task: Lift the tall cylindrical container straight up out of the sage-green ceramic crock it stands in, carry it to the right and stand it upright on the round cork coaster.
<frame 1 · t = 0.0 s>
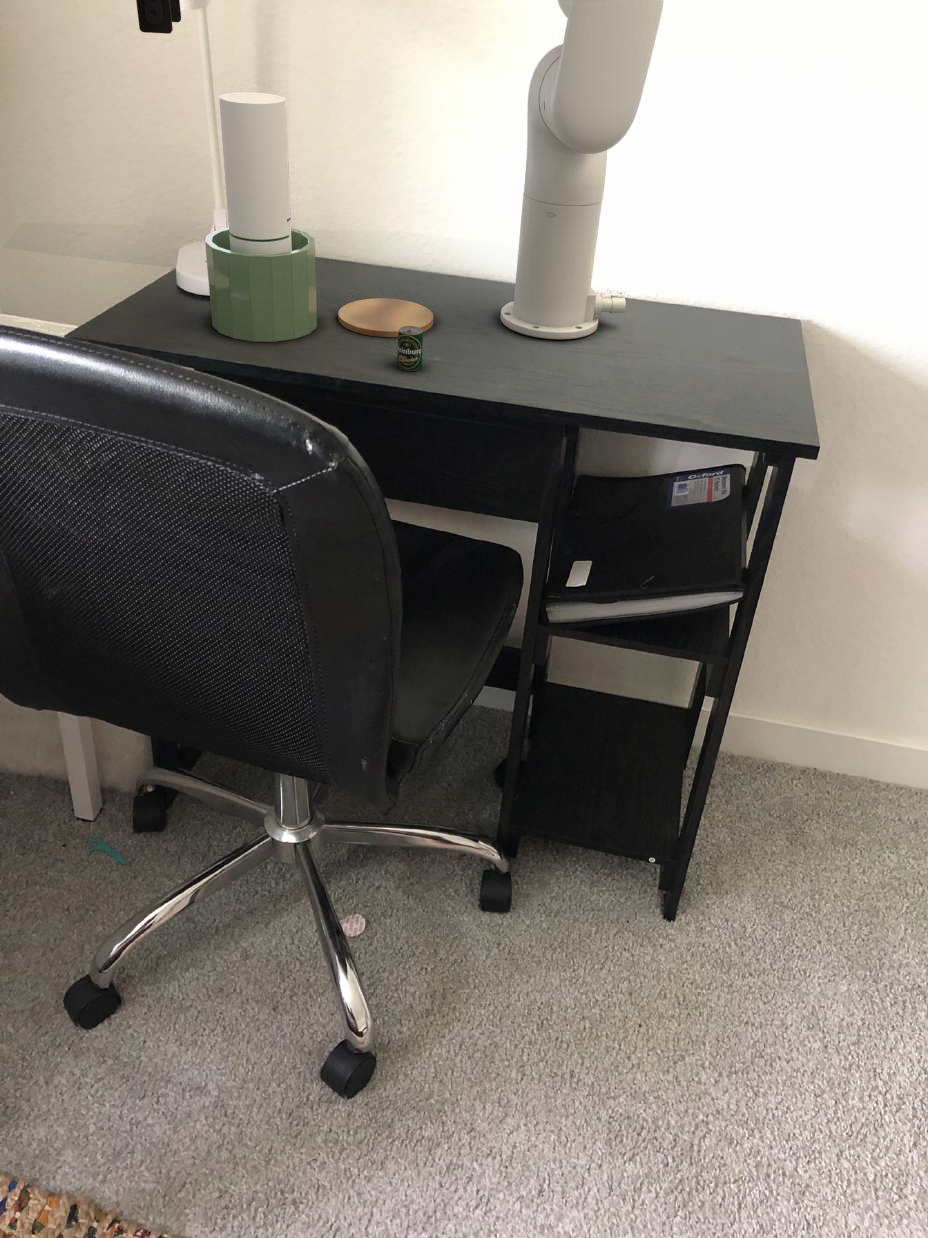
hand: (161, 26, 105), 31 cm above the table, tool pointing down, fingers open, 9 cm apart
beer can: (409, 368, 116), on the table
cylindrical container: (265, 324, 124), resting in crock
crock: (265, 322, 124), on the table
coaster: (386, 319, 128), on the table
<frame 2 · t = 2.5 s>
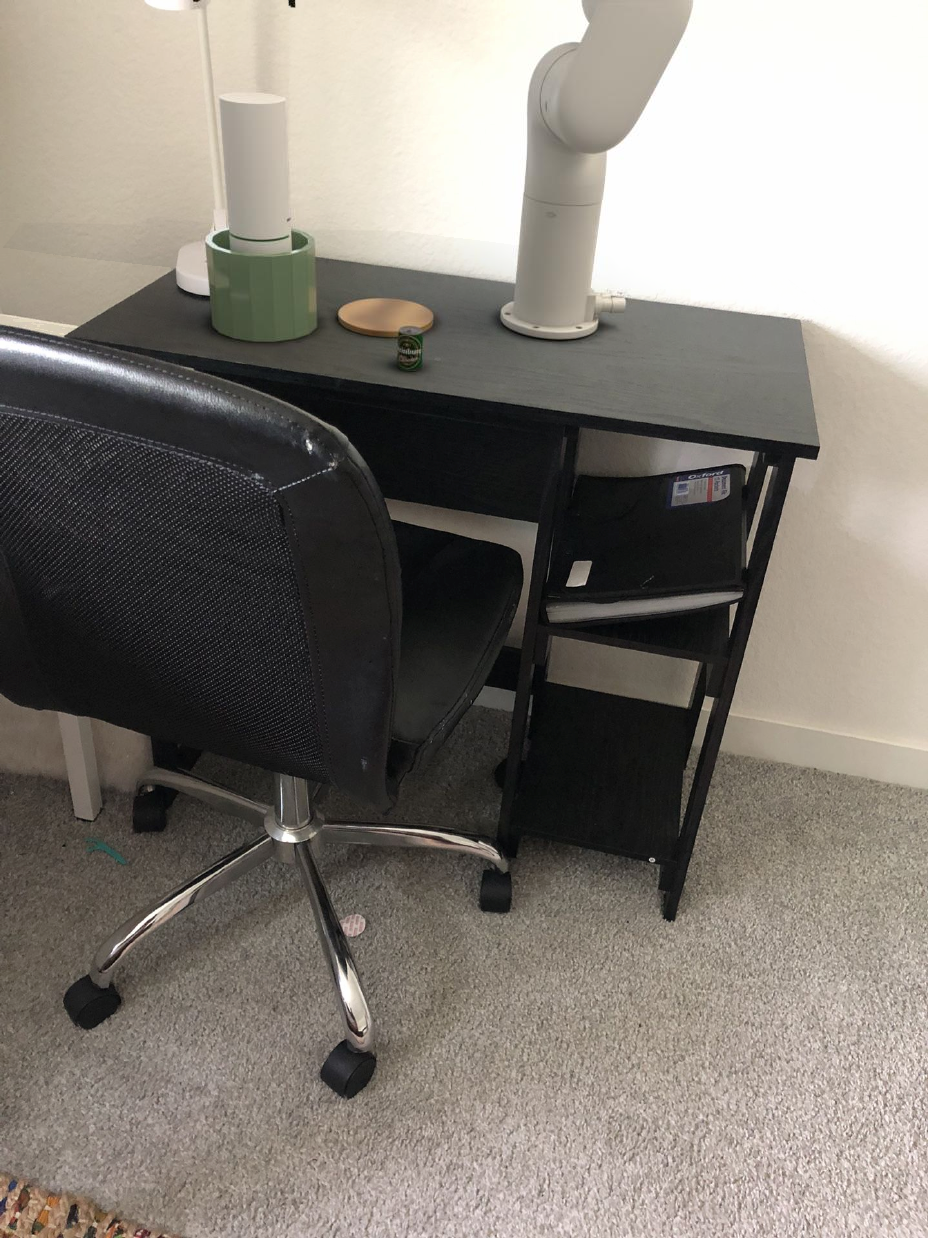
hand: (245, 3, 104), 34 cm above the table, tool pointing down, fingers open, 9 cm apart
nothing on the table moved.
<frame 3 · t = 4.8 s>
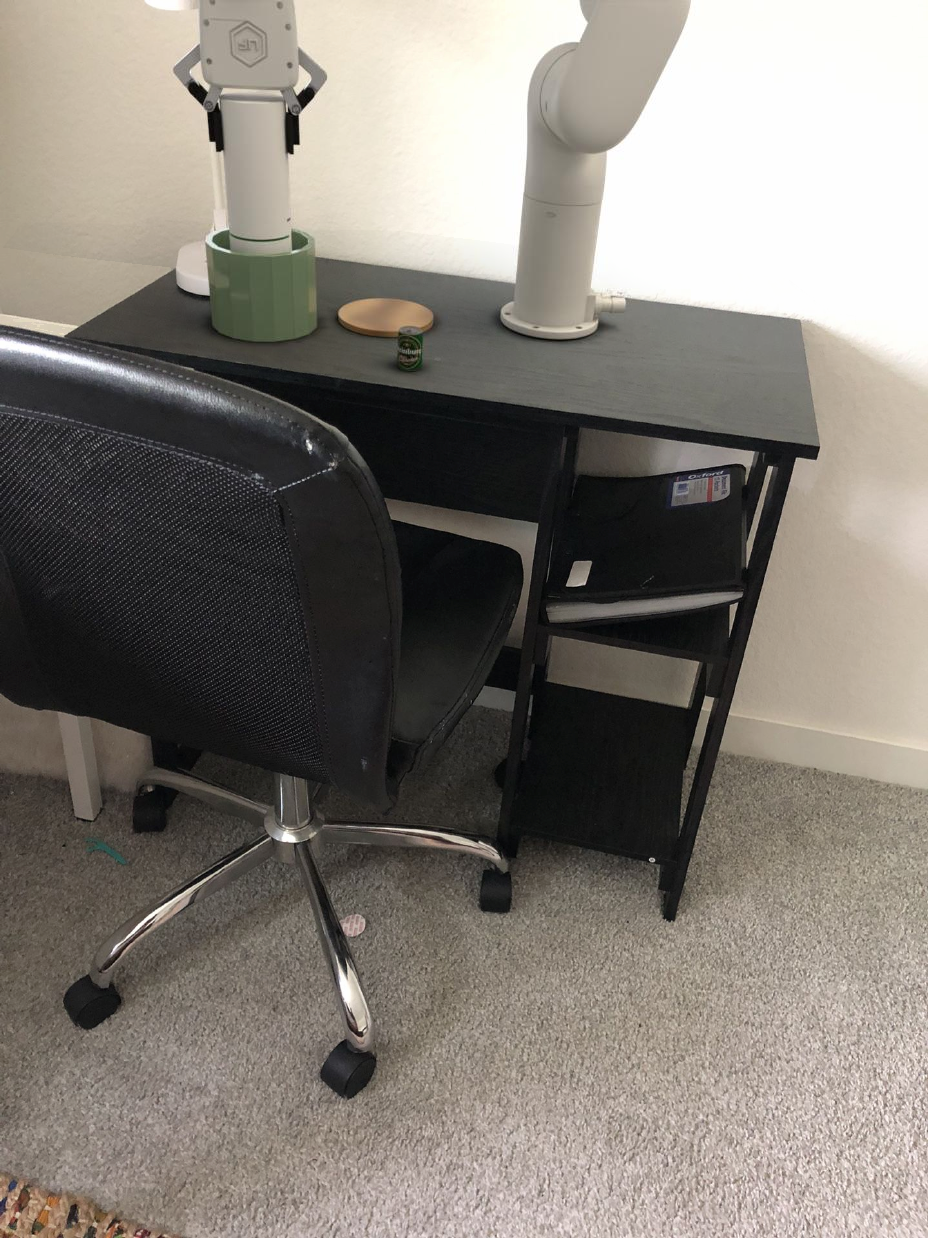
hand: (255, 149, 113), 20 cm above the table, tool pointing down, fingers closed on cylindrical container, 7 cm apart
cylindrical container: (265, 324, 124), resting in crock, touching gripper
everything else where it was.
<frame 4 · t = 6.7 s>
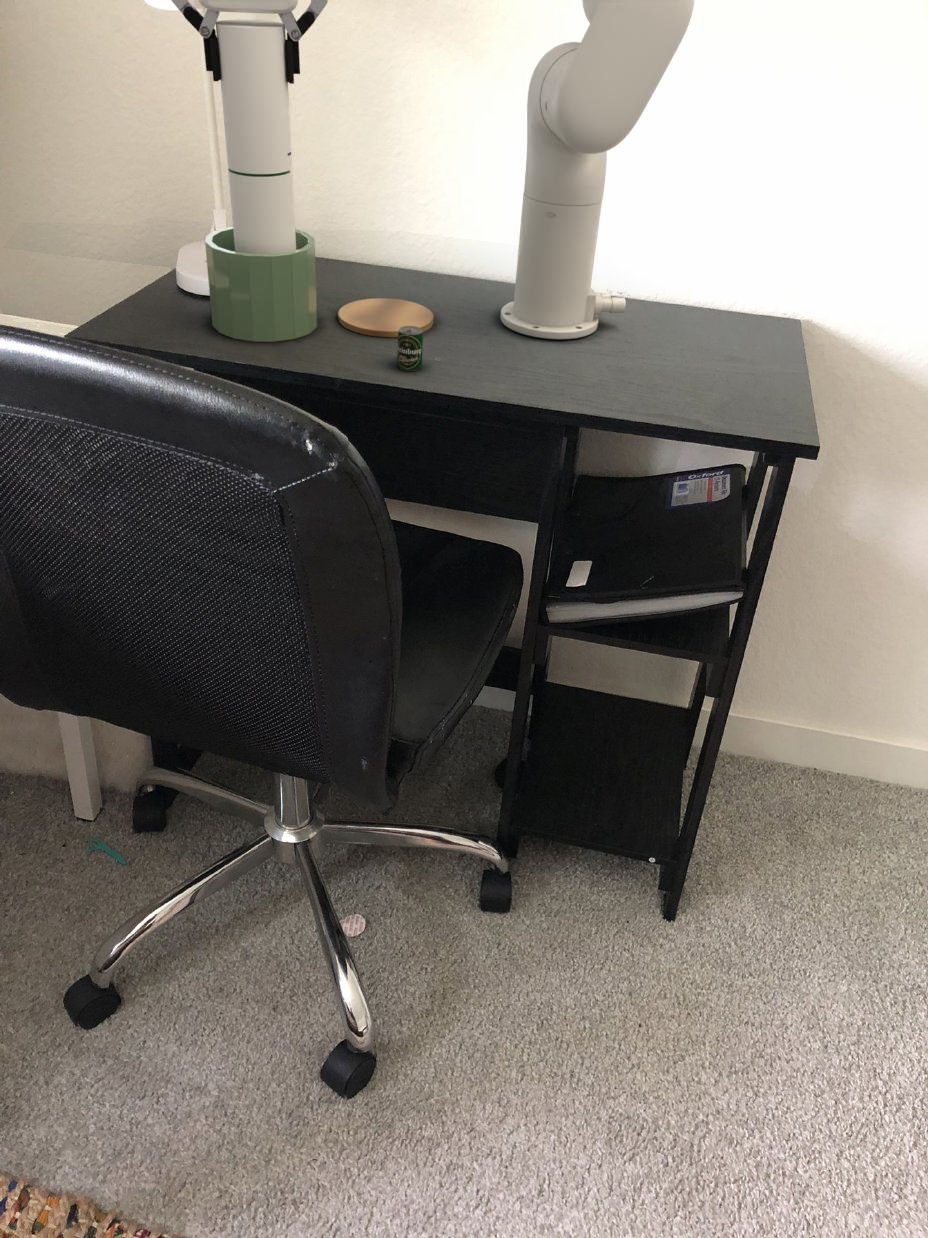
hand: (254, 78, 109), 27 cm above the table, tool pointing down, fingers closed on cylindrical container, 7 cm apart
cylindrical container: (267, 266, 120), point 7 cm above the table, touching gripper
everything else where it was.
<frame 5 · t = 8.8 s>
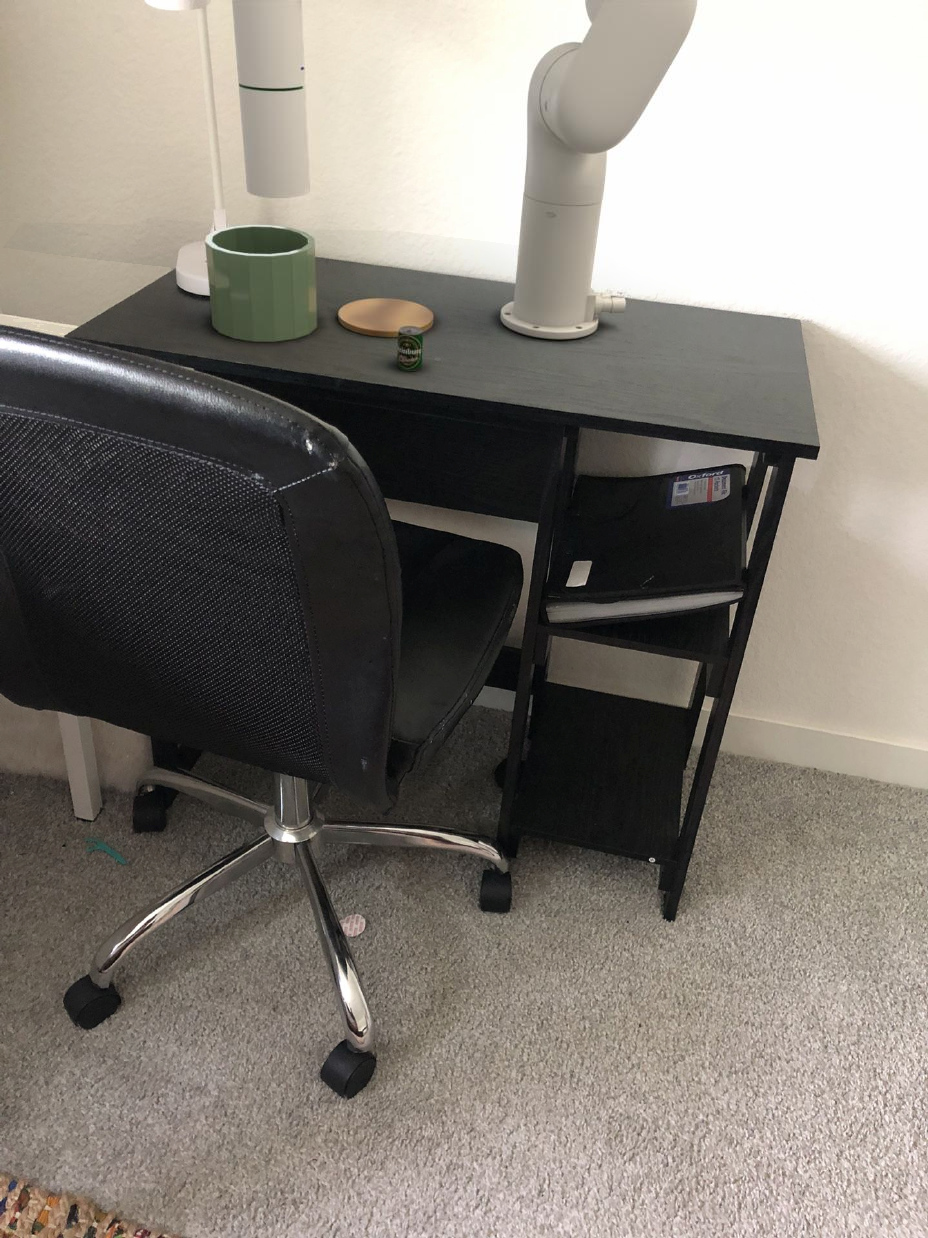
cylindrical container: (278, 191, 116), point 15 cm above the table, touching gripper
everything else where it was.
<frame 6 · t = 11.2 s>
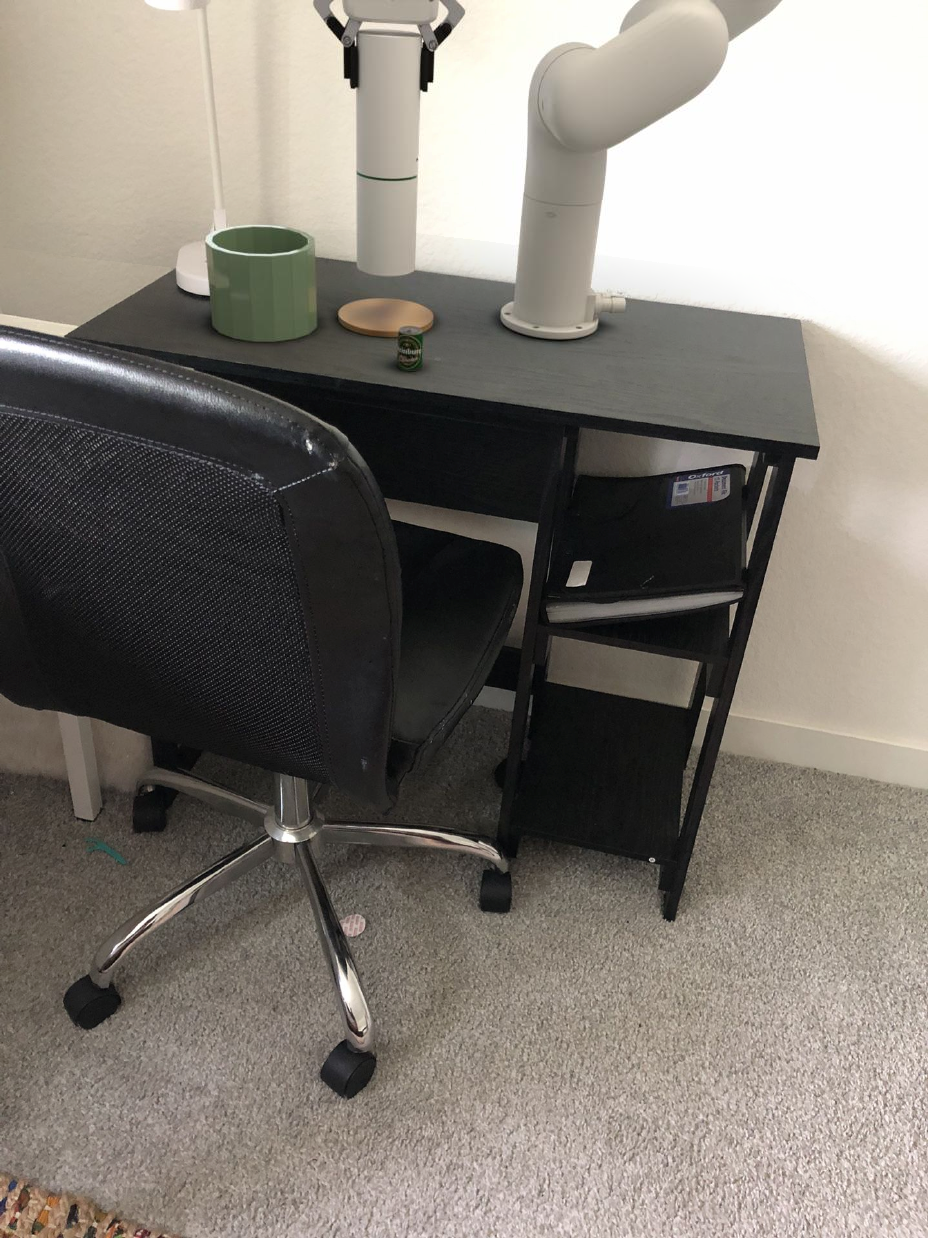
hand: (388, 86, 112), 26 cm above the table, tool pointing down, fingers closed on cylindrical container, 7 cm apart
cylindrical container: (385, 268, 124), point 6 cm above the table, touching gripper
everything else where it was.
when the fingers open (21 cm above the table, at t = 13.0 s): cylindrical container stays where it is, resting on coaster.
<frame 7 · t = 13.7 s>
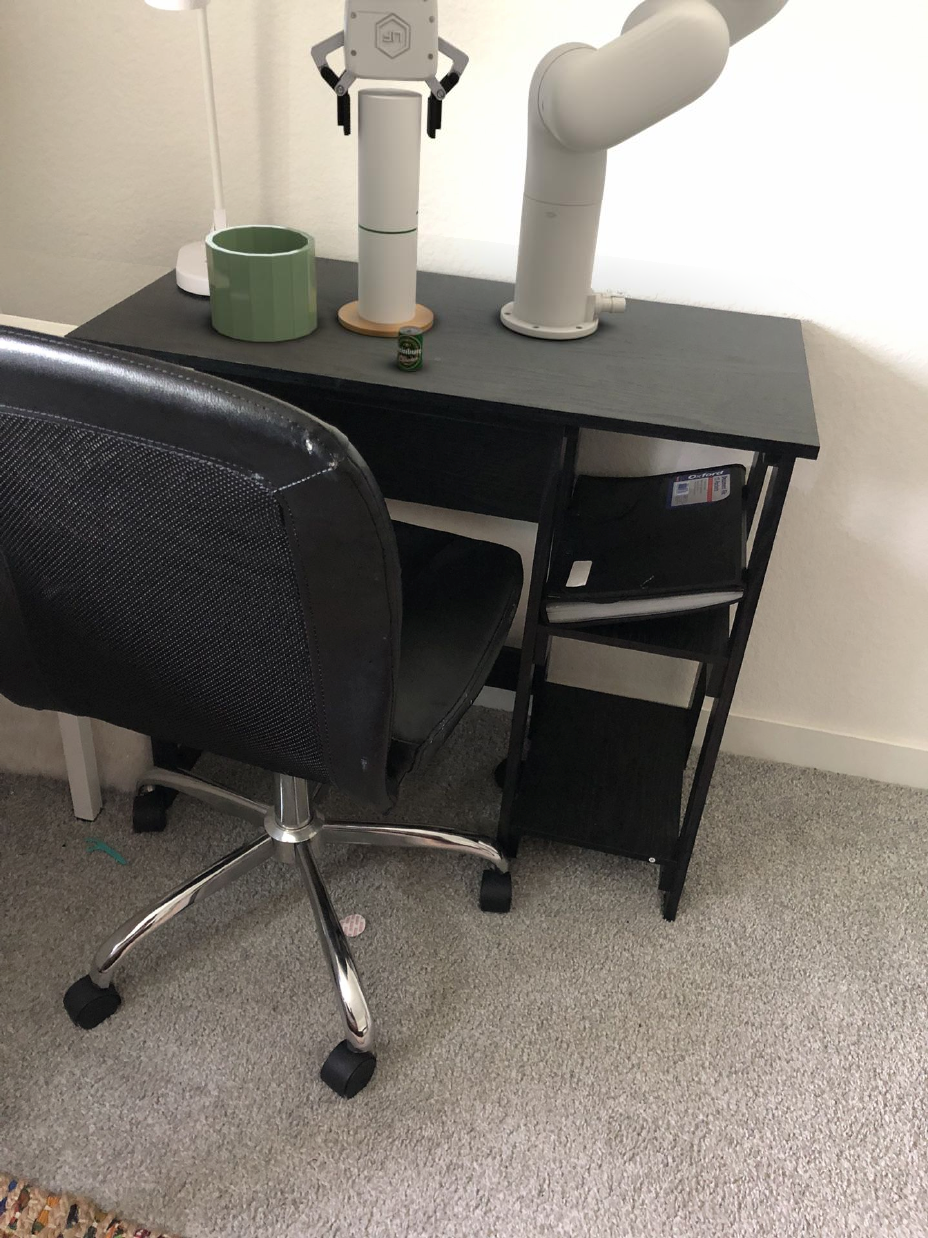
hand: (389, 134, 115), 22 cm above the table, tool pointing down, fingers open, 9 cm apart
cylindrical container: (386, 315, 127), point 1 cm above the table, touching coaster
everything else where it was.
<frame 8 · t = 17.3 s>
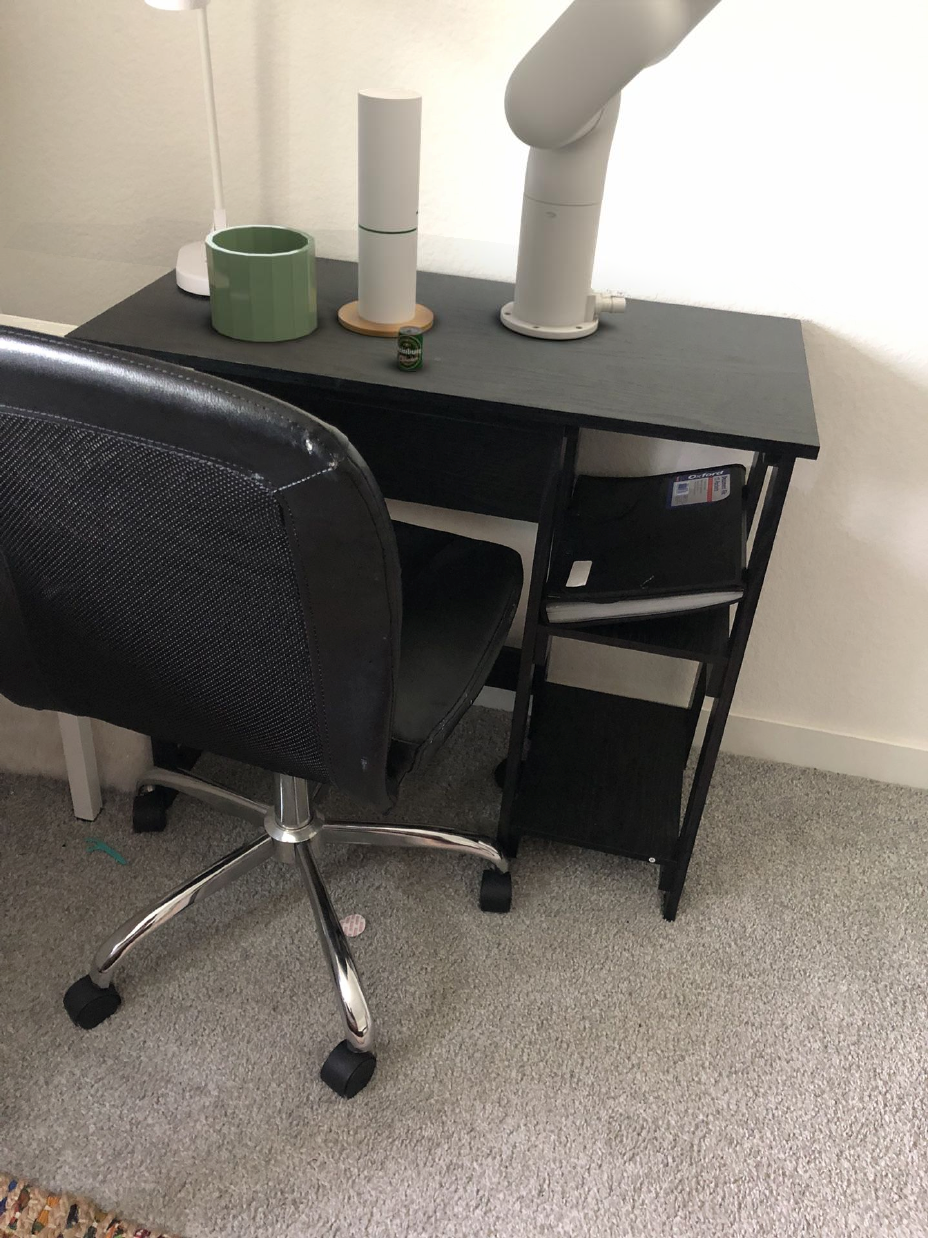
nothing on the table moved.
at the end: cylindrical container moved 15.2 cm from its start; cylindrical container 0.1 cm off-centre on the coaster, point 0.6 cm above the coaster's base; cylindrical container tilted 0° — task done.
